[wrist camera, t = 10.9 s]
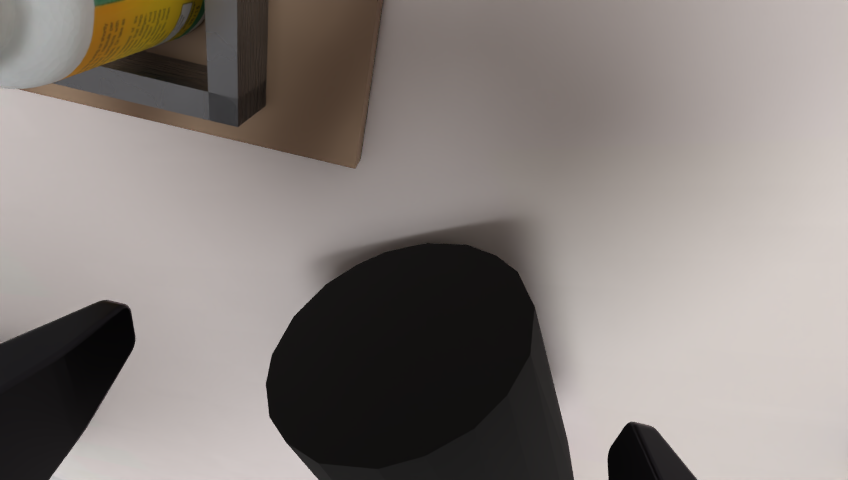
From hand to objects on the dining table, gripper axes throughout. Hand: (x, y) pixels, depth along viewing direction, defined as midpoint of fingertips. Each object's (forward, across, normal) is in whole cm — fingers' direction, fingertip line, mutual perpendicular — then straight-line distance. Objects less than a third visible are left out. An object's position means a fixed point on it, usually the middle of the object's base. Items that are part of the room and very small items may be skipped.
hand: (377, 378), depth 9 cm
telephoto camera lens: (+13, -8, +20) cm, 26 cm away
